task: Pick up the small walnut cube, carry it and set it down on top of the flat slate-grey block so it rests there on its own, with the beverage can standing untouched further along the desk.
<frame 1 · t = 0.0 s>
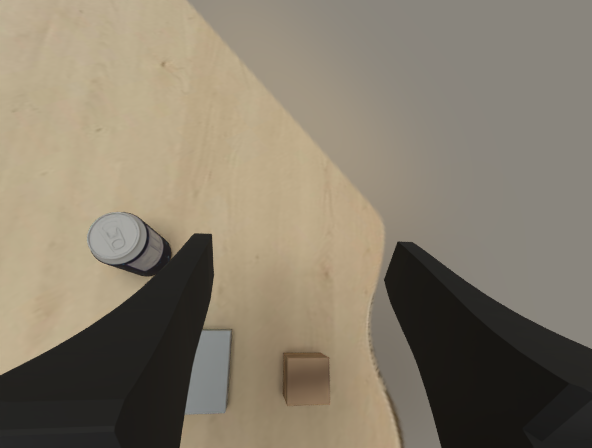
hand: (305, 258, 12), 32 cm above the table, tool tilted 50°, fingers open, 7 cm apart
grey block: (194, 366, 39), on the table
beverage can: (151, 256, 42), on the table
walnut cube: (302, 373, 41), on the table
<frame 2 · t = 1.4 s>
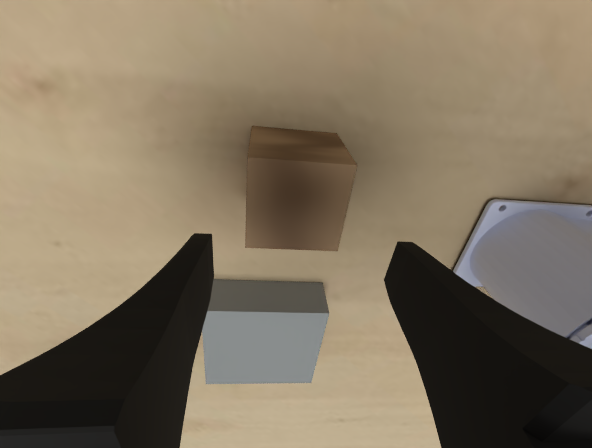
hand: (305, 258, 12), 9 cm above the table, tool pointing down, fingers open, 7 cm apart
grey block: (263, 315, 27), on the table
walnut cube: (290, 169, 19), on the table
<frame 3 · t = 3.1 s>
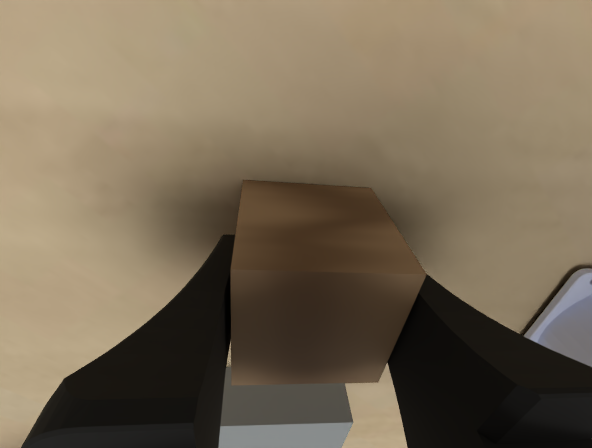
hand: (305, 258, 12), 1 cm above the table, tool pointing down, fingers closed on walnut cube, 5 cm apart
grey block: (262, 400, 21), on the table
walnut cube: (301, 237, 13), on the table, touching gripper
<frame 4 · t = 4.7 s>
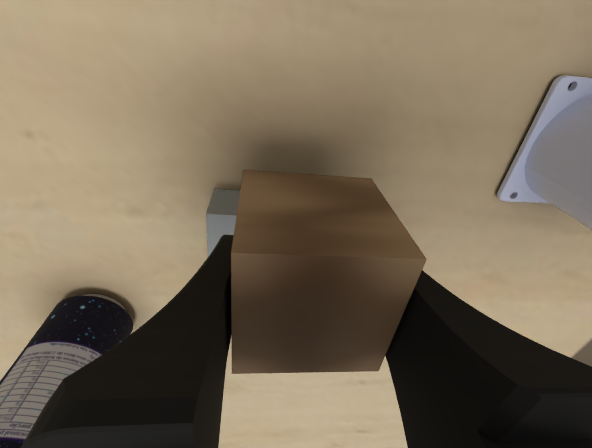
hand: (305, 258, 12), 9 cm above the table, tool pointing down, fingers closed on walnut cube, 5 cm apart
grey block: (277, 244, 23), on the table
beverage can: (100, 310, 25), on the table
walnut cube: (301, 228, 13), point 7 cm above the table, touching gripper
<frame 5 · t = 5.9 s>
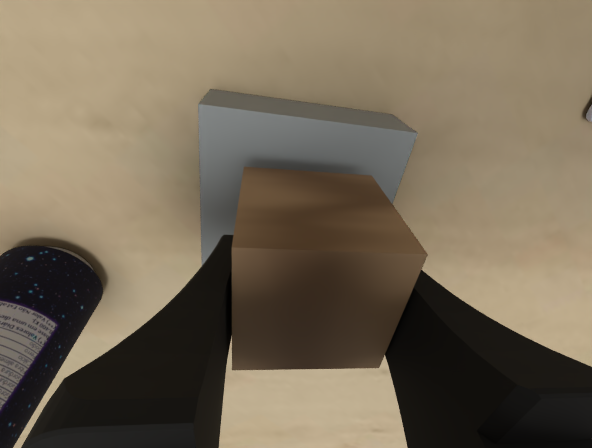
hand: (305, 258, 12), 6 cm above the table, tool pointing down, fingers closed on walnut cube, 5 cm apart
grey block: (292, 182, 18), on the table
beverage can: (61, 270, 19), on the table
walnut cube: (301, 225, 13), point 5 cm above the table, touching gripper
when the fingers open (6 cm above the table, at t = 6.5 s): walnut cube drops 2 cm, resting on grey block.
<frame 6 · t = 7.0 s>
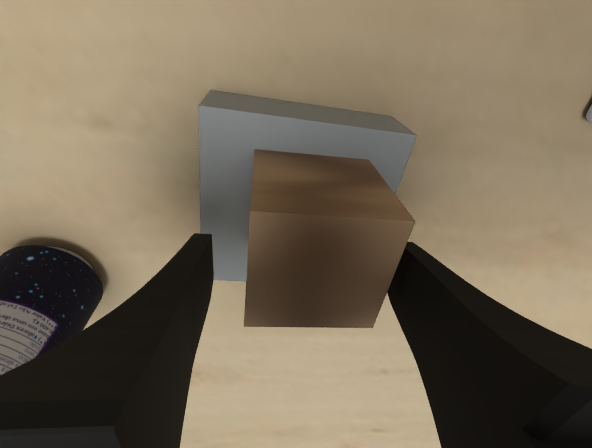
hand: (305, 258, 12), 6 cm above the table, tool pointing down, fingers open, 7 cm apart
grey block: (291, 183, 18), on the table, touching walnut cube
beverage can: (61, 270, 19), on the table
walnut cube: (305, 205, 15), point 3 cm above the table, touching grey block
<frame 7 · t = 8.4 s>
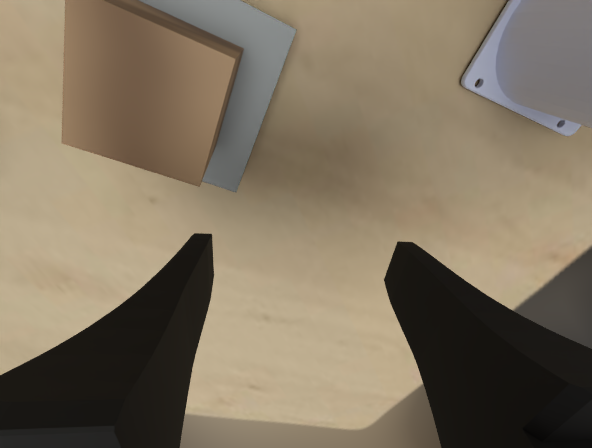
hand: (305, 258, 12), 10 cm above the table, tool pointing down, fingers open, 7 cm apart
grey block: (189, 75, 18), on the table, touching walnut cube
walnut cube: (178, 80, 15), point 3 cm above the table, touching grey block
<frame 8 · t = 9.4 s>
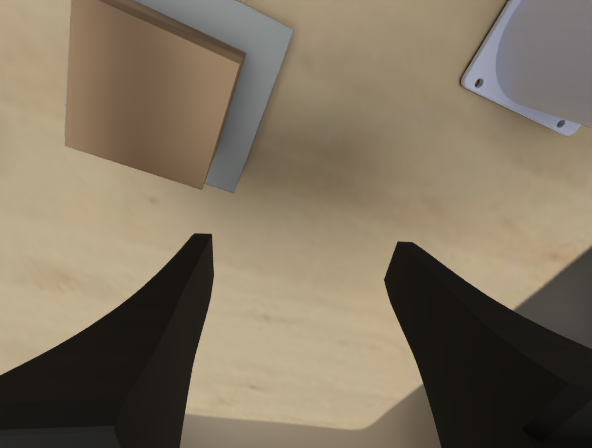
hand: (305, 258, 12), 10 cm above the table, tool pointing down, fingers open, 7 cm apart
grey block: (187, 76, 18), on the table, touching walnut cube
walnut cube: (180, 83, 15), point 3 cm above the table, touching grey block
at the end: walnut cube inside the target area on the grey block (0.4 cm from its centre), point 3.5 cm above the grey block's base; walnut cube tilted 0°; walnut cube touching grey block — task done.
